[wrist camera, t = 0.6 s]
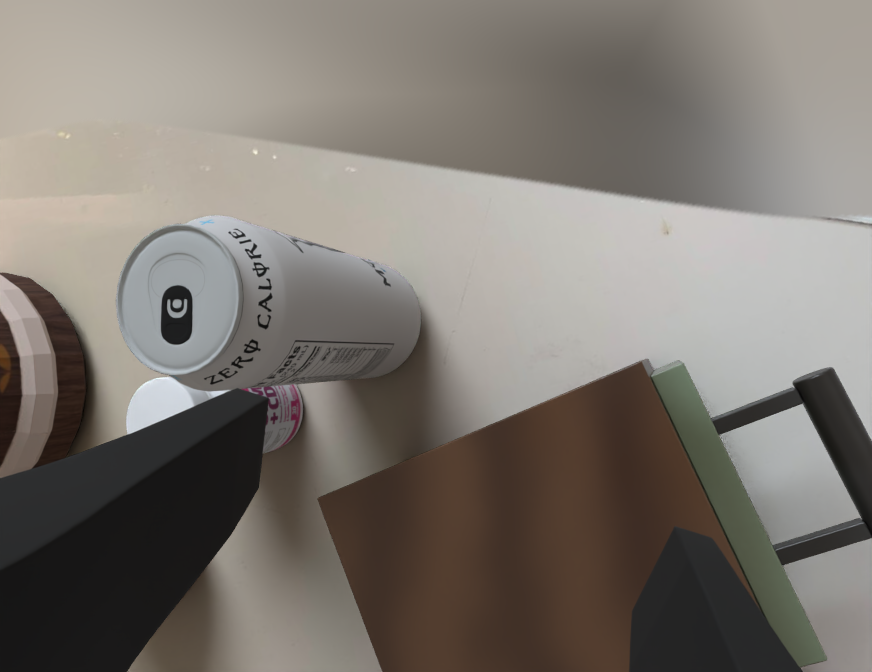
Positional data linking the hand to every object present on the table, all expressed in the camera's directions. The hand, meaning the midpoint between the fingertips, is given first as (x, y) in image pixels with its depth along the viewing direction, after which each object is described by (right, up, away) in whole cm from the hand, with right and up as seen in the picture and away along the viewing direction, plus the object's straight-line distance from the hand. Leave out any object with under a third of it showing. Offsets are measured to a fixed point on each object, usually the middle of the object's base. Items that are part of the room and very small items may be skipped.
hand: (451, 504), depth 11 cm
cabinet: (+6, -6, +20) cm, 22 cm away
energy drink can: (-3, +4, +24) cm, 24 cm away
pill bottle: (-10, -1, +26) cm, 28 cm away
